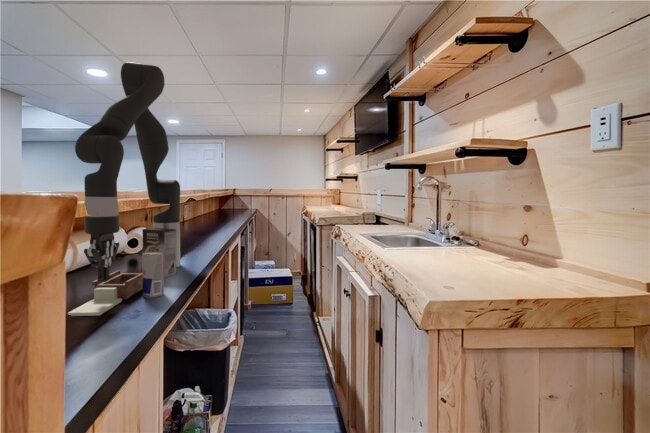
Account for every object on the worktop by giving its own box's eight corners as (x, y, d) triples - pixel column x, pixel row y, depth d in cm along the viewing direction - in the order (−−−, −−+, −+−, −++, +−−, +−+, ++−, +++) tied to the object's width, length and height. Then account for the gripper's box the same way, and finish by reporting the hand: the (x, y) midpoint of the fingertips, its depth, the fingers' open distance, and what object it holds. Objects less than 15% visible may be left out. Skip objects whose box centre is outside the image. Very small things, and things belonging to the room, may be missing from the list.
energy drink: (144, 293, 103) (143, 252, 103) (164, 291, 105) (163, 251, 104) (141, 298, 98) (140, 255, 98) (163, 297, 100) (162, 254, 100)
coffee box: (142, 275, 124) (141, 229, 123) (156, 271, 131) (155, 227, 129) (164, 277, 122) (163, 230, 121) (177, 273, 128) (176, 228, 127)
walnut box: (118, 286, 111) (117, 270, 110) (149, 286, 111) (149, 270, 111) (92, 300, 97) (91, 282, 96) (128, 299, 98) (127, 281, 97)
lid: (94, 303, 96) (93, 287, 95) (121, 302, 96) (121, 287, 96) (68, 317, 85) (67, 300, 85) (99, 317, 85) (98, 299, 85)
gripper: (103, 216, 86) (105, 287, 87) (129, 213, 99) (130, 275, 101) (70, 216, 86) (72, 288, 87) (100, 212, 99) (102, 275, 100)
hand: (103, 281), depth 94 cm, fingers closed
